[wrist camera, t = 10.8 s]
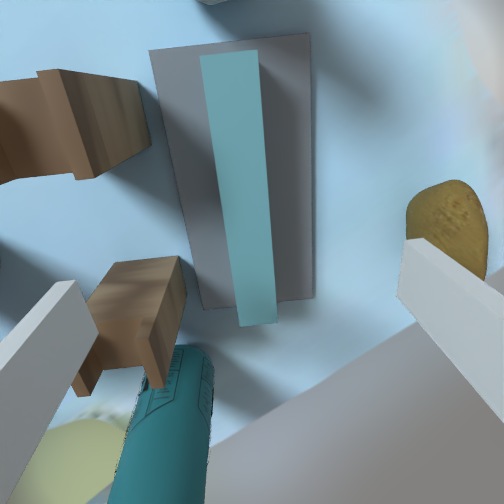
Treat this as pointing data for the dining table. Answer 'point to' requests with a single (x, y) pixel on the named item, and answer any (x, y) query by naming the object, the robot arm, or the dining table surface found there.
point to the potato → (451, 223)
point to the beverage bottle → (169, 436)
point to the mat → (276, 152)
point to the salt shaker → (211, 1)
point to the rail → (242, 179)
